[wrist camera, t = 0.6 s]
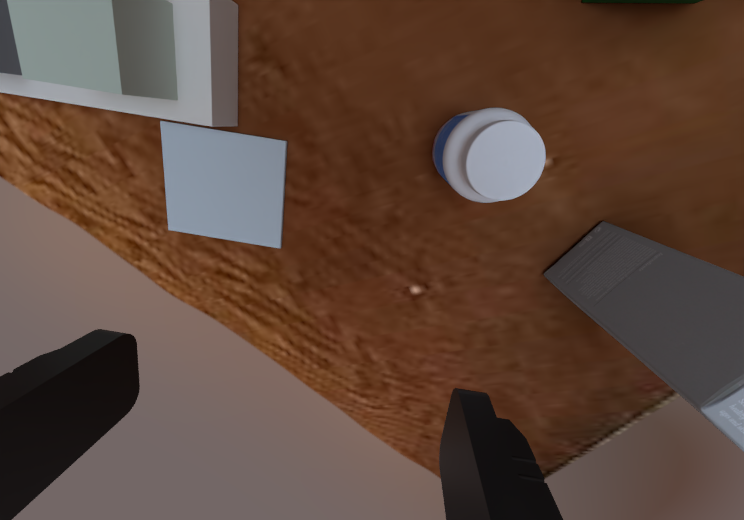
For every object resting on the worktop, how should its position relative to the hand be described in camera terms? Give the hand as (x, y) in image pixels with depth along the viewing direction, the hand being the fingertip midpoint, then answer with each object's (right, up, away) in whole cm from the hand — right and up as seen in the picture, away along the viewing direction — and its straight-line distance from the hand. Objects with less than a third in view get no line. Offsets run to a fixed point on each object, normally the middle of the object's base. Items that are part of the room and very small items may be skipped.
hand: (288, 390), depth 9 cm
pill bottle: (+9, +12, +18) cm, 24 cm away
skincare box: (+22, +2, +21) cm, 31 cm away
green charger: (-13, +18, +16) cm, 27 cm away
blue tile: (-10, +9, +20) cm, 25 cm away
